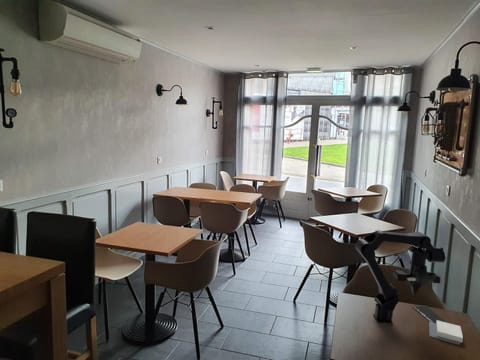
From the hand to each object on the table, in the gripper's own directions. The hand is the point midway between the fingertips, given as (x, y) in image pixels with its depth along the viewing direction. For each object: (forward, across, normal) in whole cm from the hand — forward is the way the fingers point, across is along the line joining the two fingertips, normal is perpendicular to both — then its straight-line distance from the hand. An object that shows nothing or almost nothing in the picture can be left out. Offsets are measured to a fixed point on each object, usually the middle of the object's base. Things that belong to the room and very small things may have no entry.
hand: (414, 294), depth 157 cm
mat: (+12, +10, -10) cm, 18 cm away
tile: (+10, +7, -8) cm, 15 cm away
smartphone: (+13, +11, +5) cm, 17 cm away
